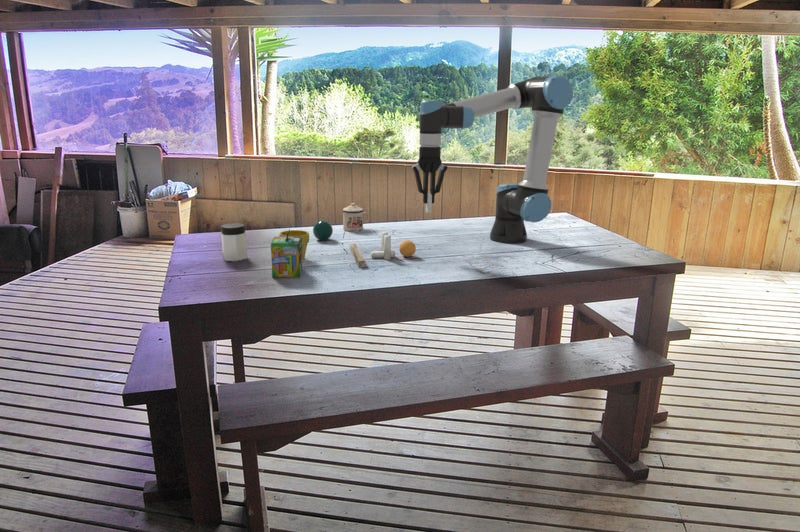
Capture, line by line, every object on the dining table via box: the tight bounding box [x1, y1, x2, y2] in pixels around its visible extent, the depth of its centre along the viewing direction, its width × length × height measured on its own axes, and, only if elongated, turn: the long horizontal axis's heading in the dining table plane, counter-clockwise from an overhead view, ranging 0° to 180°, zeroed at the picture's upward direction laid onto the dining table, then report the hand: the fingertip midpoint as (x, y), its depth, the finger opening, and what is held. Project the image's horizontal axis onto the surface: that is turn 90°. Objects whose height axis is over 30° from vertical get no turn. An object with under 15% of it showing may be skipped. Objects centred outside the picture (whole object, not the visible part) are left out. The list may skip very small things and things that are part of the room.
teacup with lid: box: [342, 202, 370, 232], centre depth 250 cm, size 12×9×12 cm
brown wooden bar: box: [349, 243, 366, 269], centre depth 205 cm, size 2×24×2 cm, turn 12°
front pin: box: [370, 250, 396, 259], centre depth 207 cm, size 2×2×8 cm
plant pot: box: [278, 229, 310, 261], centre depth 201 cm, size 10×10×10 cm
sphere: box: [312, 220, 333, 241], centre depth 230 cm, size 8×8×8 cm
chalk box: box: [270, 228, 303, 279], centre depth 184 cm, size 9×9×15 cm
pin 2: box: [383, 234, 392, 261], centre depth 204 cm, size 2×2×8 cm
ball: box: [399, 240, 417, 258], centre depth 208 cm, size 6×6×6 cm
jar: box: [220, 222, 248, 262], centre depth 201 cm, size 9×8×12 cm
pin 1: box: [381, 231, 389, 251], centre depth 208 cm, size 2×2×8 cm
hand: (428, 212), depth 206 cm, fingers closed
